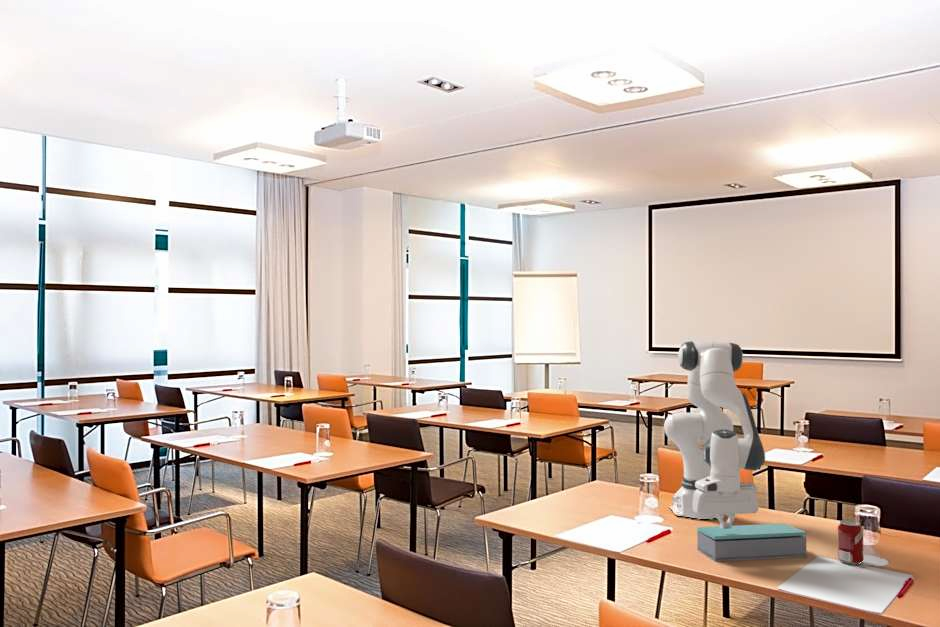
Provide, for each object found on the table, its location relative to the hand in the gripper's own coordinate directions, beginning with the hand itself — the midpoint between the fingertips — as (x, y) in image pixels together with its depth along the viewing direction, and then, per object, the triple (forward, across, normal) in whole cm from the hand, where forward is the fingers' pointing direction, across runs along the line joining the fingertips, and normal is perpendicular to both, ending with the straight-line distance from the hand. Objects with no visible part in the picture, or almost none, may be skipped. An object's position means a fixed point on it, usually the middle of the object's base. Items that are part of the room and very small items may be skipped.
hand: (725, 528), depth 227 cm
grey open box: (+9, -10, -3) cm, 14 cm away
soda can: (+9, -35, +10) cm, 38 cm away
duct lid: (+3, -10, -3) cm, 11 cm away
